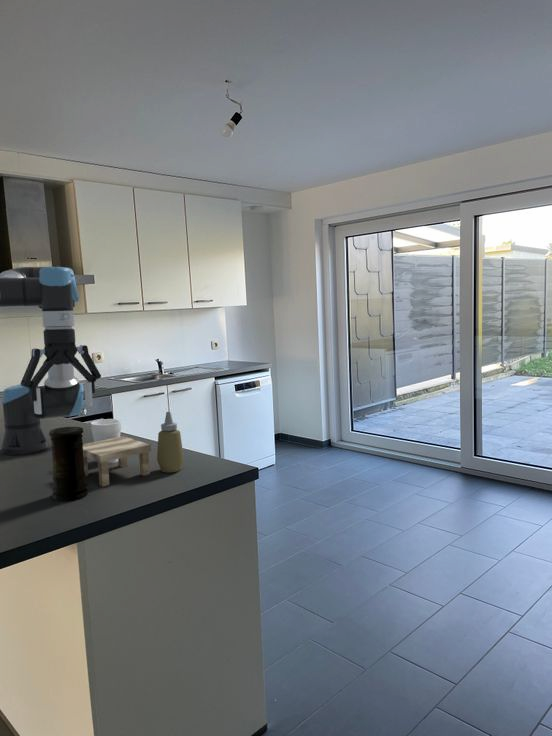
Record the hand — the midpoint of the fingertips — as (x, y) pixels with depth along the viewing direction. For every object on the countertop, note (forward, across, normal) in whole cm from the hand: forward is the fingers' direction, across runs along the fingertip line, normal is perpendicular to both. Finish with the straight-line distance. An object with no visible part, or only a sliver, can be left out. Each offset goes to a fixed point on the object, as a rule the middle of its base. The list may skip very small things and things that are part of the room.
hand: (64, 409), depth 144 cm
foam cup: (+23, +23, +23) cm, 40 cm away
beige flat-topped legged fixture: (+23, +17, +8) cm, 30 cm away
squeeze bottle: (+23, +31, -1) cm, 39 cm away
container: (+24, 0, 0) cm, 24 cm away
